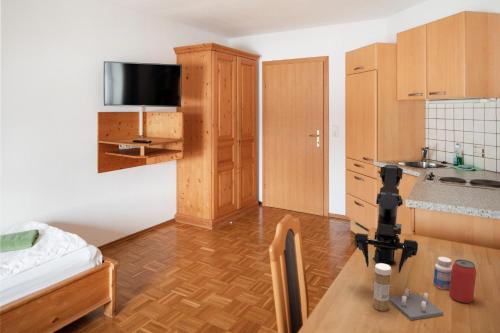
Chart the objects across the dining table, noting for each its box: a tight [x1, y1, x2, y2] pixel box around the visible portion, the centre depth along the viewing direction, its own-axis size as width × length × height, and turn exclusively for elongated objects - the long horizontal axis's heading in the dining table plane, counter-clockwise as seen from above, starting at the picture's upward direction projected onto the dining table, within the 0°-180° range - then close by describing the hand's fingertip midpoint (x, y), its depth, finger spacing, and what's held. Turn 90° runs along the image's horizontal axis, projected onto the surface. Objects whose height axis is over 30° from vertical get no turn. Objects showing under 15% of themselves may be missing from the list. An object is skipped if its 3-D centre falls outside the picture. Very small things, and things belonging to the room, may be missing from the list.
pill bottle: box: [433, 256, 453, 290], centre depth 121 cm, size 6×5×10 cm
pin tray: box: [388, 287, 444, 321], centre depth 109 cm, size 11×11×4 cm
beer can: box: [448, 258, 477, 304], centre depth 113 cm, size 7×7×12 cm
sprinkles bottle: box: [372, 263, 392, 312], centre depth 108 cm, size 5×5×14 cm
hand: (383, 269), depth 111 cm, fingers open, 9 cm apart
